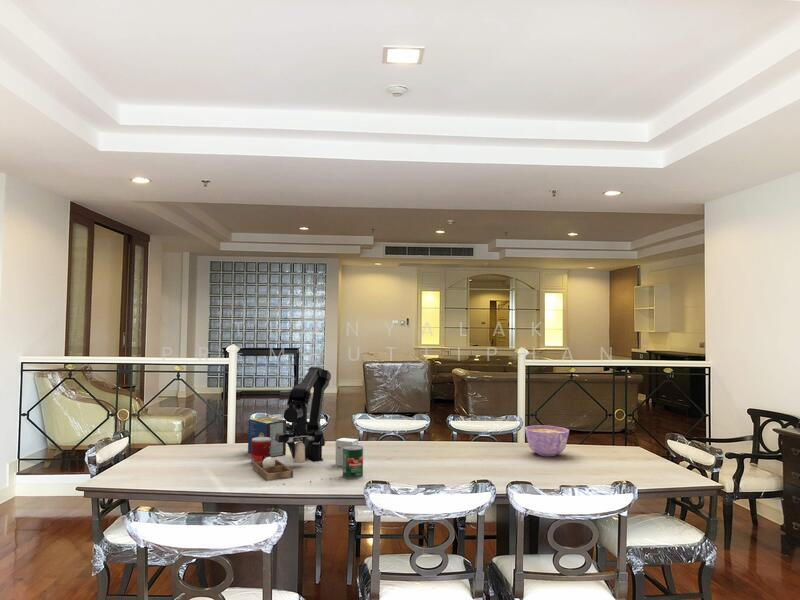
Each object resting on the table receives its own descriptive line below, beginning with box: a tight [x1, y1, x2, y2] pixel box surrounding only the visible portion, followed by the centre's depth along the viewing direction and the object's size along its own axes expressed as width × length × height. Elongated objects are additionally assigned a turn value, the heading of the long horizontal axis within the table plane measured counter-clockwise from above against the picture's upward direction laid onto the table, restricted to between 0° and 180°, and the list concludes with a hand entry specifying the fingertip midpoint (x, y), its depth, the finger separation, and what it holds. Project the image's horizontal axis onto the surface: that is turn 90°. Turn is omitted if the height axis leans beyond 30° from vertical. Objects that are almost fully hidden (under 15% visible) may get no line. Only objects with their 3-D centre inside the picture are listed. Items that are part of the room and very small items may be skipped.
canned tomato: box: [342, 444, 364, 480], centre depth 215 cm, size 8×8×11 cm
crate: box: [252, 459, 294, 482], centre depth 213 cm, size 10×20×4 cm, turn 29°
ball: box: [262, 457, 276, 468], centre depth 217 cm, size 5×5×5 cm
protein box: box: [247, 416, 287, 458], centre depth 251 cm, size 10×15×16 cm
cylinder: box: [292, 441, 306, 464], centre depth 224 cm, size 5×5×8 cm
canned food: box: [250, 437, 271, 465], centre depth 229 cm, size 8×8×11 cm
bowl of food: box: [524, 424, 570, 457], centre depth 256 cm, size 20×20×12 cm
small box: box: [335, 437, 359, 467], centre depth 232 cm, size 8×6×10 cm
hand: (299, 457), depth 224 cm, fingers closed on cylinder, 5 cm apart
